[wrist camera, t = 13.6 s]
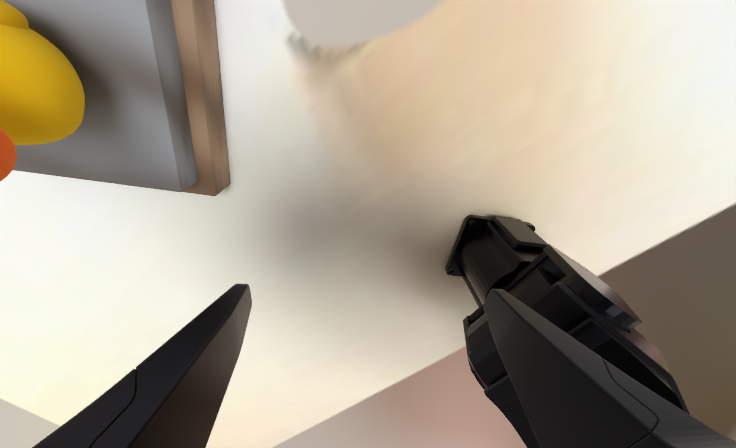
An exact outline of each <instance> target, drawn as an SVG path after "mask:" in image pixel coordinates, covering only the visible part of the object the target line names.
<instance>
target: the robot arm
mask: <svg viewBox="0 0 736 448" xmlns="http://www.w3.org/2000/svg"><path fill="white" fill-rule="evenodd" d="M471 220H473V221H472V222H471V223H469V222H470V221H471ZM534 231H535V227H534V226H533V225H532V224H530V223H524V222H522V221H521V220H519V219H511V218H504V217H497V216H494V217H491V218H489V217H481V216H474V215H470V216H468V217H466V219H465V221H464V223H463V226H462V228H461V231H460V233H459V236H458V238H457V241H456V243H455V246H454V248H453V251H452V253H451V256H450V258H449V260H448V263H447V265H446V268H445V270H446V273H447V274H448V275H453V276H462V277H463V278H464V280H465V282H466V284H467V286H468V288H469V289H470V291H471V293H472V295H473V297H474V299H475V301H476V302H477V304H478V306H479V308H478V309H477V310H476V311H475V312H474V313H472V314H471V315H470V316H467V317H466V318H465V319H464V320H463V324H464V332H465V340H466V347H467V355H468V361H469V365H470V367H471V371H472V373H473V374H474V376H475V377H476V379H477V381H478V382H479V384H480V385H481V386H482V387H483V389H484V393H485V395H486V396H487V397H488V398H489V399H490V400H491V401H492V402H493V403H494V404H495V405H496V406H497V407H498V408H499V409H500V410H501V411H502V413H503V414H504V415H505V416H506V418H507V419H508V420H509V421H510V423H511V424H512V425H513V427H514V428H515V430H516V431H517V432H518V434H519V435H520V437H521V439H522V440H523V442H524V443H525V445H526V446H527V448H736V441H734V440H732V439H729V438H728V437H726V436H724V435H722V434H720V433H718V432H717V431H715V430H713V429H711V428H710V427H708V426H707V425H705V424H704V423H702V422H700V421H699V420H697V419H696V418H694V417H692V416H691V415H690V414H689V411H688V409H687V407H686V405H685V402H684V400H683V398H682V396H681V394H680V392H679V389H678V387H677V385H676V382H675V380H674V378H673V376H672V374H671V372H670V370H669V368H668V366H667V364H666V362H665V360H664V358H663V356H662V354H661V352H660V351H659V349H658V348H657V347H656V346H654V345H653V344H652V343H651V342H650V341H649V340H647V339H646V338H645V337H644V336H643V335H642V334H640V333H639V332H638V331H636V330H635V329H634V328H635V327H636V326H638V325H639V324H641V323H642V321H641V320H640V318H639V317H638V316H637V315H636V314H635V313H634V311H633V310H632V309H631V308H630V307H629V306H628V304H627V303H626V302H625V301H624V300H623V299H622V297H621V296H620V295H619V294H618V293H617V292H615V291H614V290H613V289H611V288H610V287H609V286H608V285H607V284H605V283H604V282H603V281H602V280H600V279H599V278H598V277H597V276H595V275H594V274H593V273H592V272H590V271H589V270H588V269H586V268H585V267H583V266H582V265H580V264H579V263H577V262H576V261H574V260H572V259H571V258H569V257H568V256H566V255H565V254H563V253H562V252H560V251H559V250H557V249H556V248H554V247H553V246H551V245H550V244H549V245H548V244H547V243H546V242H545V241H544V240H543V239H541V238H540V237H539V236H538V235H537V234H536V233H535V232H534ZM451 269H452V270H451ZM449 270H451V271H449ZM251 306H252V299H251V293H250V287H249V285H248V284H235V285H234V286H232V287H231V288H230V289H229V290H228V291H226V292H225V293H224V294H223V295H222V296H220V297H219V298H218V299H217V300H216V301H214V302H213V303H212V304H211V305H210V306H209V307H207V308H206V309H205V310H204V311H203V312H201V313H200V314H199V315H198V316H197V317H195V318H194V319H193V320H192V321H191V322H189V323H188V324H187V325H186V326H185V327H183V328H182V329H181V330H180V331H179V332H177V333H176V334H175V335H174V336H173V337H171V338H170V339H169V340H168V341H167V342H165V343H164V344H163V345H162V346H161V347H160V348H158V349H157V350H156V351H155V352H154V353H152V354H151V355H150V356H149V357H148V358H146V359H145V360H144V361H143V362H142V363H140V364H139V365H138V366H137V367H136V369H133V370H132V371H131V372H129V373H128V374H127V375H126V376H125V377H124V378H122V379H121V380H120V381H119V382H117V383H116V384H115V385H114V386H113V387H111V388H110V389H109V390H108V391H106V392H105V393H104V394H103V395H101V396H100V397H99V398H98V399H96V400H95V401H94V402H93V403H91V404H90V405H89V406H87V407H86V408H85V409H83V410H82V411H81V412H79V413H78V414H77V415H75V416H74V417H73V418H71V419H70V420H69V421H68V422H66V423H65V424H63V425H62V426H61V427H59V428H58V429H57V430H55V431H54V432H53V433H51V434H50V435H49V436H47V437H46V438H45V439H43V440H42V441H40V442H39V443H38V444H36V445H35V446H34V447H32V448H205V447H206V444H207V442H208V439H209V436H210V433H211V431H212V428H213V425H214V423H215V420H216V417H217V414H218V412H219V409H220V406H221V403H222V401H223V398H224V395H225V392H226V390H227V387H228V384H229V381H230V379H231V376H232V373H233V371H234V368H235V365H236V362H237V360H238V357H239V354H240V351H241V347H242V343H243V339H244V335H245V331H246V327H247V323H248V319H249V314H250V310H251Z"/></svg>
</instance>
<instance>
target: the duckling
mask: <svg viewBox="0 0 736 448" xmlns="http://www.w3.org/2000/svg"><path fill="white" fill-rule="evenodd" d="M84 108H85V95H84V90H83V86H82V83H81V81H80V79H79V77H78V75H77V73H76V71H75V69H74V67H73V66H72V64H71V63H70V61H69V60H68V59H67V58H66V56H65V55H64V54H63V53H62V52H61V51H60V50H59V49H58V48H57V47H55V46H54V45H53V44H52V43H51V42H49V41H48V40H47V39H45V38H44V37H43V36H41V35H40V34H38V33H37V32H35V31H34V30H32V29H30V28H29V24H28V21H27V19H26V17H25V16H24V15H23V14H22V13H21V12H20V11H19V10H18V9H16V8H15V7H13V6H12V5H10V4H8V3H6V2H5V1H3V0H0V181H1V180H3V179H4V178H5V177H6V176H7V175H8V174H9V173H10V172H11V171H12V170H13V168H14V166H15V164H16V159H17V153H16V148H15V145H37V144H45V143H50V142H54V141H58V140H61V139H63V138H66V137H67V136H69V135H71V134H72V133H73V132H75V131H76V130H77V129H78V127H79V126H80V124H81V122H82V119H83V114H84Z"/></svg>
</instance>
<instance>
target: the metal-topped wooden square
mask: <svg viewBox="0 0 736 448" xmlns="http://www.w3.org/2000/svg"><path fill="white" fill-rule="evenodd" d="M3 1H5V2H6V3H8V4H10V5H12V6H13V7H15V8H16V9H18V10H19V11H20V12H21V13H22V14H23V15H24V16H25V17H26V19H27V21H28V24H29V28H30V29H32V30H34V31H35V32H37V33H38V34H40V35H41V36H43V37H44V38H45V39H47V40H48V41H49V42H51V43H52V44H53V45H54V46H55V47H57V48H58V49H59V50H60V51H61V52H62V53H63V54H64V55H65V56H66V58H67V59H68V60H69V61H70V63H71V64H72V66H73V67H74V69H75V71H76V73H77V75H78V77H79V79H80V81H81V83H82V86H83V90H84V95H85V108H84V114H83V119H82V122H81V124H80V126H79V127H78V129H77V130H76V131H75V132H73V133H72V134H71V135H69V136H67V137H66V138H63V139H61V140H58V141H54V142H50V143H45V144H37V145H15V148H16V153H17V159H16V164H15V166H14V168H13V170H17V171H25V172H32V173H40V174H47V175H55V176H63V177H70V178H78V179H85V180H93V181H100V182H108V183H116V184H123V185H131V186H138V187H146V188H154V189H161V190H169V191H176V192H188V193H196V194H203V195H211V196H216V195H217V194H218V193H220V192H221V191H222V190H223V189H224V188H225V187H226V186H228V185H229V184H230V176H229V165H228V154H227V143H226V132H225V121H224V110H223V99H222V87H221V76H220V65H219V54H218V43H217V32H216V21H215V10H214V0H3Z"/></svg>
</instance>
